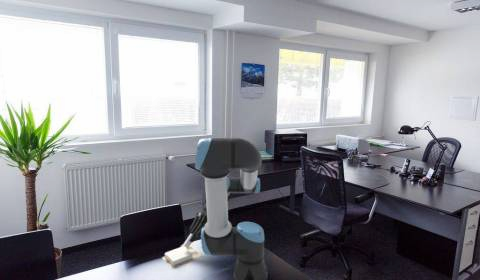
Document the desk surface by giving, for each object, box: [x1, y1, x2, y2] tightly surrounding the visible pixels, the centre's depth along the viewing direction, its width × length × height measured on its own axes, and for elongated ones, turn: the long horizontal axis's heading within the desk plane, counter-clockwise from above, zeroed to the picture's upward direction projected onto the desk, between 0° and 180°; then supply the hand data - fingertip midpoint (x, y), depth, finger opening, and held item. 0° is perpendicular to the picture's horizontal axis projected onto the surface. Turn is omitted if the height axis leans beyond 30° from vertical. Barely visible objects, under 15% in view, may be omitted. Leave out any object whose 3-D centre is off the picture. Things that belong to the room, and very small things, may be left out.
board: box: [161, 246, 203, 269], centre depth 145 cm, size 11×16×1 cm
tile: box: [164, 245, 192, 266], centre depth 144 cm, size 9×2×10 cm
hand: (185, 246), depth 145 cm, fingers closed
